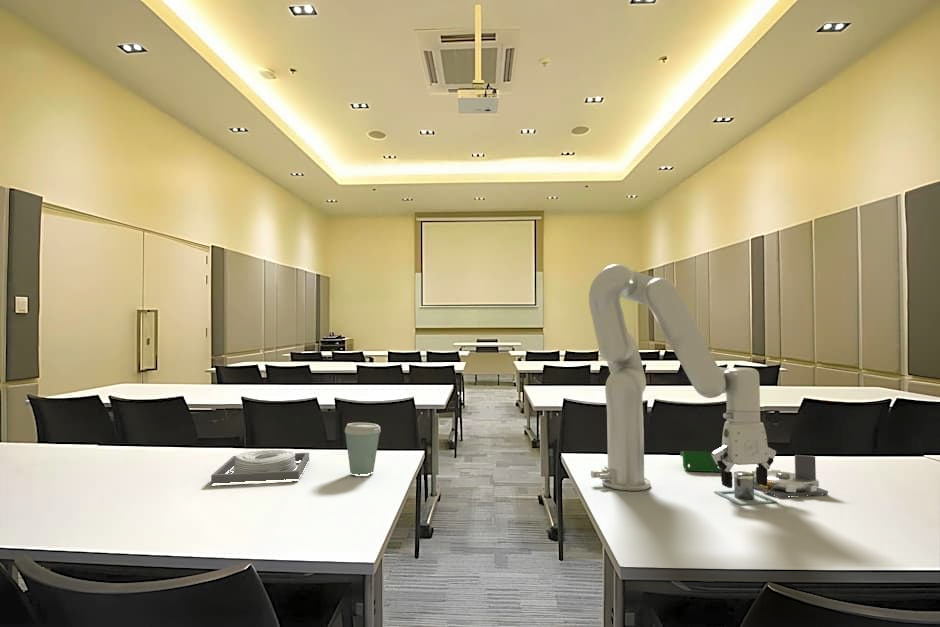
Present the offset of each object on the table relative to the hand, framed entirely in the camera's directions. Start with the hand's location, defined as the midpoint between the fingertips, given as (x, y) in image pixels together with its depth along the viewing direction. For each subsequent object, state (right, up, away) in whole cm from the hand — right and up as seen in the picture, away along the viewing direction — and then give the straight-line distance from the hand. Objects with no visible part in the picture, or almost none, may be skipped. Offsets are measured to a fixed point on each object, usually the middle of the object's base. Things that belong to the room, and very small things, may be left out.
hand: (744, 485), depth 134 cm
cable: (-130, -5, +25) cm, 132 cm away
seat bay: (0, -3, 0) cm, 3 cm away
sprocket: (+14, -2, +7) cm, 16 cm away
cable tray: (-130, -4, +25) cm, 133 cm away
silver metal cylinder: (0, -3, 0) cm, 3 cm away
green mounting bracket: (+1, -4, +27) cm, 27 cm away
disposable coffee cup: (-100, -4, +23) cm, 103 cm away
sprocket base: (+14, -3, +7) cm, 16 cm away
